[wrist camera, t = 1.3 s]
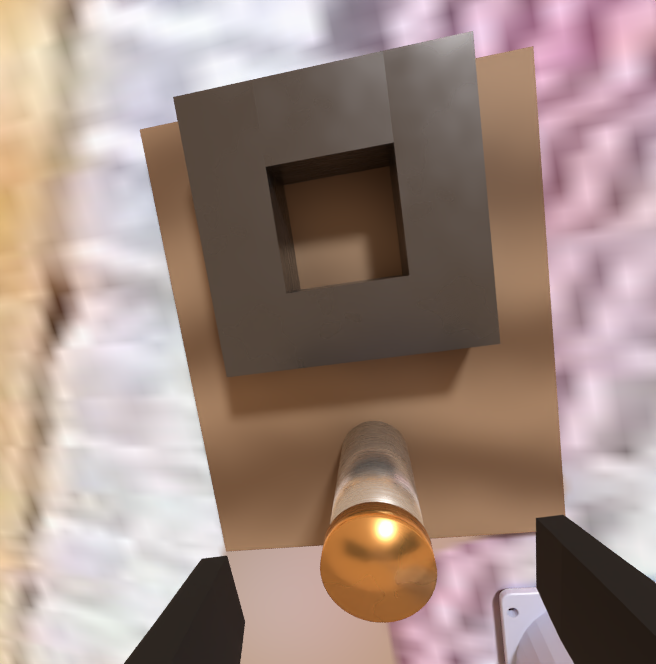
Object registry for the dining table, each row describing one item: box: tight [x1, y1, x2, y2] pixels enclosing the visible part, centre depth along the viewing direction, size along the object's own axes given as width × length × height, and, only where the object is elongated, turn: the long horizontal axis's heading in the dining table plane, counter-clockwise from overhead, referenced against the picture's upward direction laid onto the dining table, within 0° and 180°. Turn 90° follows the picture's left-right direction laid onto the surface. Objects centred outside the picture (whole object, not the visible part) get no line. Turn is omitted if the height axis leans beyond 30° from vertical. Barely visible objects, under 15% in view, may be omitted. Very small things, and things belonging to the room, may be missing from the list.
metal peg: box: [320, 421, 437, 622], centre depth 14 cm, size 3×3×7 cm
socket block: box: [173, 31, 500, 377], centre depth 15 cm, size 10×10×3 cm
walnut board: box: [140, 46, 565, 551], centre depth 18 cm, size 20×16×1 cm
